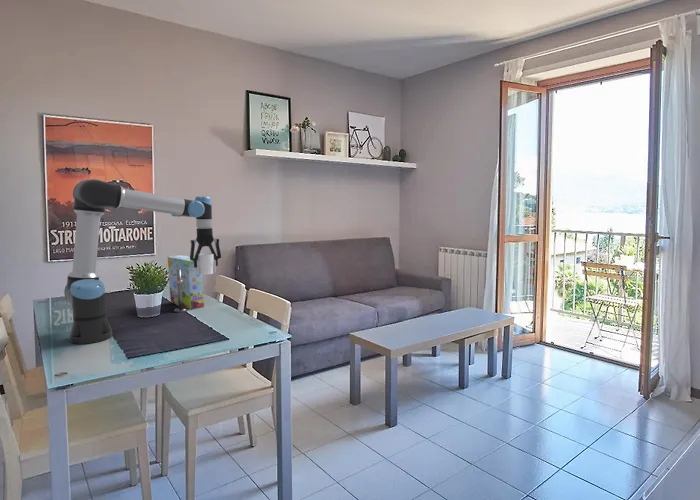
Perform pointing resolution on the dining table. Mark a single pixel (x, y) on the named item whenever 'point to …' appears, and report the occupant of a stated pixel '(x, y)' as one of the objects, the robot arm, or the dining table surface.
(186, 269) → the snack box
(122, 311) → the dining table surface
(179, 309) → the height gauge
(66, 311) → the dining table surface
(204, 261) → the white cup
